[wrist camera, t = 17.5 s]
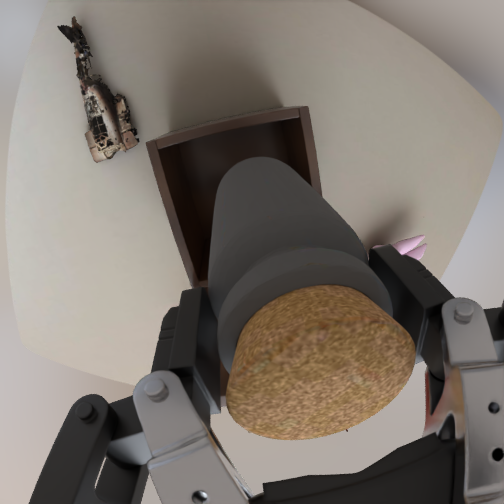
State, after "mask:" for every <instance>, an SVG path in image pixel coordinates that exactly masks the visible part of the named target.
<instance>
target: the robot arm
mask: <svg viewBox="0 0 504 504" xmlns="http://www.w3.org/2000/svg"><path fill="white" fill-rule="evenodd" d="M369 267H370V268H371V269H372V270H373V271H374V273H375V274H376V275H377V276H378V278H379V279H380V280H381V281H382V283H383V284H384V286H385V288H386V289H387V291H388V293H389V296H390V299H391V302H392V307H393V319H394V320H395V321H397V322H398V323H399V324H400V325H401V326H402V327H404V329H405V330H406V331H407V332H408V333H409V334H410V336H411V338H412V340H413V342H414V344H415V350H416V361H415V364H417V363H419V362H422V361H425V363H426V365H427V368H426V371H425V387H426V388H425V392H426V421H425V428H424V431H423V435H422V438H420V439H418V440H416V441H414V442H411V443H409V444H406V445H404V446H402V447H399V448H397V449H396V450H394V451H393V452H391V453H390V454H388V455H386V456H385V457H383V458H382V459H380V460H379V461H377V462H376V463H374V464H372V465H371V466H369V467H367V468H366V469H364V470H362V471H360V472H357V473H353V474H337V475H307V476H302V477H297V478H292V479H286V480H281V481H275V482H268V483H263V491H264V492H263V493H260V494H258V495H254V493H253V492H252V490H251V489H250V488H249V486H248V485H247V483H246V482H245V481H244V479H243V478H242V477H241V475H240V474H239V472H238V471H237V469H236V468H235V466H234V465H233V463H232V462H231V460H230V458H229V457H228V455H227V454H226V452H225V450H224V449H223V447H222V446H221V444H220V442H219V441H218V439H217V437H216V435H215V434H214V432H213V430H212V429H211V427H210V414H218V413H221V387H220V357H219V352H218V345H217V327H218V322H217V319H216V317H215V314H214V312H213V309H212V306H211V303H210V300H209V297H208V294H207V292H206V289H205V288H204V287H198V288H194V289H189V290H184V291H182V294H181V299H180V304H179V306H177V307H172V308H170V310H169V311H168V313H167V314H166V315H165V317H164V318H163V321H162V325H161V331H160V334H159V341H158V343H157V347H156V351H155V356H154V361H153V365H152V370H151V373H150V374H148V375H146V376H145V377H143V378H142V379H141V380H140V381H139V382H138V383H137V385H136V386H135V389H134V391H133V395H132V396H130V397H127V398H124V399H121V400H118V401H115V402H112V403H110V404H109V403H108V402H107V401H106V400H105V399H104V398H103V397H102V396H100V395H97V394H90V395H86V396H84V397H82V398H80V399H79V400H77V401H76V402H75V403H74V404H73V406H72V407H71V409H70V411H69V413H68V415H67V417H66V419H65V421H64V423H63V426H62V427H61V429H60V432H59V433H58V436H57V438H56V440H55V442H54V444H53V446H52V449H51V451H50V453H49V456H48V458H47V460H46V462H45V465H44V467H43V469H42V472H41V474H40V476H39V479H38V481H37V484H36V486H35V489H34V491H33V494H32V496H31V499H30V502H29V504H141V501H142V497H143V493H144V489H145V486H146V482H147V479H148V475H149V473H150V476H151V478H152V481H153V483H154V486H155V488H156V491H157V493H158V496H159V498H160V500H161V503H162V504H504V301H503V304H502V307H499V308H491V309H482V307H481V306H480V305H479V304H478V303H477V302H475V301H473V300H470V299H467V298H455V297H454V296H453V295H452V294H451V293H450V292H449V291H448V290H447V289H446V288H445V287H444V286H443V285H442V284H441V283H440V282H439V280H438V279H437V278H436V277H435V276H433V275H432V273H431V272H430V271H429V270H428V269H427V270H426V267H425V266H424V265H422V264H421V263H420V262H419V261H418V260H417V259H415V258H413V257H411V256H408V255H406V254H405V255H401V254H400V253H399V252H398V251H397V250H396V249H395V248H394V247H393V246H392V245H391V244H388V245H384V246H380V247H376V248H372V249H370V252H369ZM104 457H106V460H105V463H104V466H103V469H102V471H101V475H100V477H99V480H98V483H97V486H96V488H95V482H96V480H97V477H98V474H99V471H100V468H101V466H102V462H103V460H104Z"/></svg>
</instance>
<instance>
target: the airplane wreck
mask: <svg viewBox="0 0 504 504" xmlns="http://www.w3.org/2000/svg"><path fill="white" fill-rule="evenodd" d="M76 21H77V20H76V18H75V17H73V18H72V27H69V26H67V25H66V26H64V25H61V27H60V26H57V27H58V29H59V30H60V31H61V32H62V33H63V34H64V35H65V36H66V37H67V39H69V40H70V42H71V43H72V42H74V47H75V53H74V54H75V55H76V63H77V70H78V72H77V73H78V74H77V77H78V78H79V82H80V87H81V92H82V97H83V102H84V107H85V110H86V114H87V117H88V123H89V124H90V125H89V126H90V131H88V132H87V133H85V137H86V140H87V142H88V146H89V149H90V152H91V154H92V156H93V159H94V161H95V162H96V163H98V162H100V161H103V160H106V159H111V158H112V157H113V155H114V154H115V153H116V152H117V151H119V150H121V151H125V152H126V150H128V149H130V148H132V147H134V146H136V145H137V144H138V142H139V138H137V139H136V138H135V137H134V136H135V135H137V129H135V128H134V127H132V126H131V124H130V123H129V120H130V118H129V116H130V115H129V114H128V113H129V112H130V110H128V108H127V107H129V106H127V105H126V99H124V98H125V96H124V97H123V96H122V95H120V94H117V95H116V96H113V95H112V94H111V93H110V90H109V89H108V88H107V86H106V85H105V84H103V83H101V82H100V81H101V80H102V79H101V78H99V79H98V80H92V79H91V78H90V76H94V75H90V76H88V71H89V69H87V68H86V66H85V67H84V66H83V64H84V63H85V64H86V65H87V63H86V62H87V60H86V59H88V60H89V63H90V59H89V56H91V57H93V56H92V55H91V53H90V51H89V52H88V51H86V50H85V49H88V50H89V49H90V47H89V46H85V45H87V42H86V38H85V36H84V35H83V32H82V30H81V29H82V27H81V26H80V25H79V24H78V23H77V22H76ZM81 36H82V37H81ZM84 50H85V51H84ZM87 57H88V58H87ZM90 67H91V64H90ZM99 76H100V75H99ZM114 99H116V100H117V102H116V103H114ZM133 130H134V133H133Z"/></svg>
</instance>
